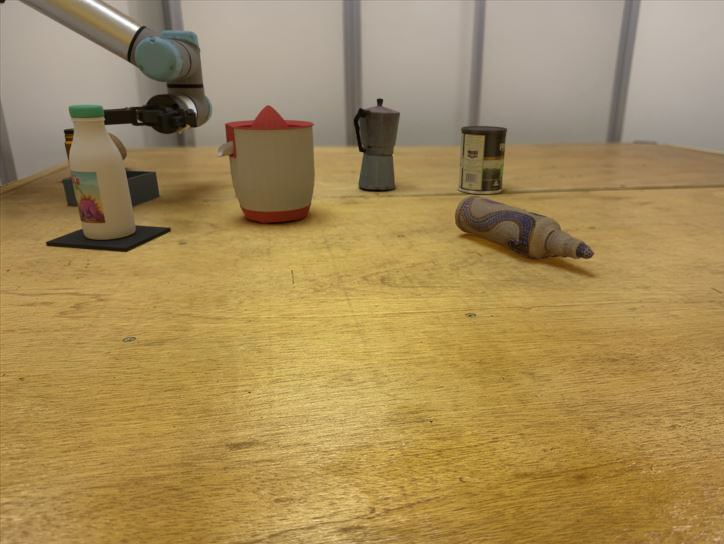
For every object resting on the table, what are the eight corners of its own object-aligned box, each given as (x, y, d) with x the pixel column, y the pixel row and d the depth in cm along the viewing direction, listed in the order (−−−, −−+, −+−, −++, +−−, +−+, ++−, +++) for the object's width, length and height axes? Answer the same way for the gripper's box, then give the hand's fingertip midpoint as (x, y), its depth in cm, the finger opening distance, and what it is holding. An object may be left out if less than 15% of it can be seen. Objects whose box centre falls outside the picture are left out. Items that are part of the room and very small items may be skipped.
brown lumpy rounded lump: (124, 166, 154) (117, 129, 150) (134, 170, 148) (127, 132, 144) (88, 169, 149) (80, 131, 145) (97, 174, 143) (89, 134, 139)
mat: (46, 245, 86) (45, 241, 86) (98, 225, 97) (98, 222, 97) (126, 251, 84) (125, 247, 84) (171, 230, 95) (170, 227, 94)
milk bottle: (129, 225, 95) (106, 103, 87) (142, 235, 90) (120, 106, 82) (79, 233, 91) (51, 104, 83) (90, 244, 85) (61, 107, 77)
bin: (67, 205, 111) (61, 179, 108) (109, 193, 122) (104, 169, 120) (122, 209, 108) (117, 182, 106) (159, 196, 120) (155, 171, 118)
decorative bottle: (450, 235, 94) (452, 196, 91) (483, 229, 98) (486, 192, 95) (568, 280, 74) (575, 232, 72) (604, 271, 78) (612, 225, 76)
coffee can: (501, 186, 133) (506, 126, 128) (502, 195, 124) (507, 130, 119) (459, 185, 135) (462, 125, 129) (456, 193, 126) (459, 129, 120)
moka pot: (410, 185, 134) (411, 97, 126) (376, 196, 122) (375, 100, 114) (377, 181, 138) (376, 96, 131) (341, 191, 126) (338, 99, 118)
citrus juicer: (217, 212, 107) (204, 103, 99) (303, 204, 114) (297, 102, 107) (234, 232, 94) (221, 109, 86) (330, 221, 101) (325, 107, 94)
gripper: (233, 133, 113) (196, 147, 94) (113, 131, 114) (51, 144, 94) (229, 94, 111) (190, 100, 91) (106, 92, 111) (41, 97, 91)
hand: (119, 122), depth 93 cm, fingers open, 13 cm apart
